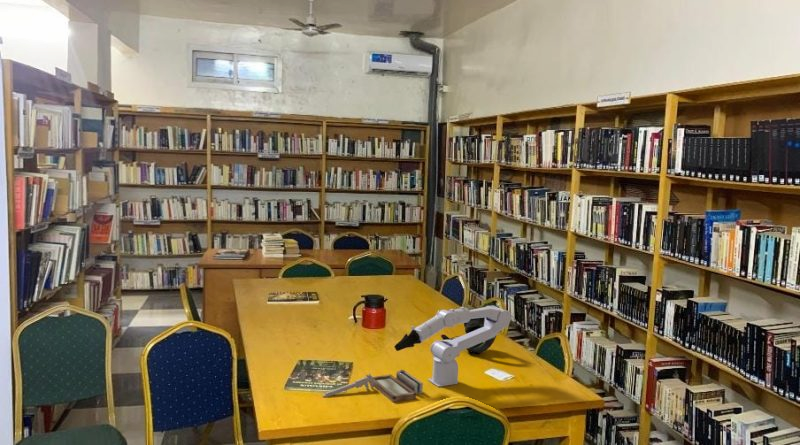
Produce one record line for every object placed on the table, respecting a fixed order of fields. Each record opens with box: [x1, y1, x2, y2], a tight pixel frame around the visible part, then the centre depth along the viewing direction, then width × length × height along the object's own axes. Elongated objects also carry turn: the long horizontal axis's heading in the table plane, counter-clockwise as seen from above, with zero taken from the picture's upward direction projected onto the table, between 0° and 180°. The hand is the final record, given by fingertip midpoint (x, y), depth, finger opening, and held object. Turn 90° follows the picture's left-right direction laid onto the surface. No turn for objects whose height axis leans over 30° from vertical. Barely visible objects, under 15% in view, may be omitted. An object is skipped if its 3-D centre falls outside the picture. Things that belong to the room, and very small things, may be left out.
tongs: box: [395, 369, 424, 396], centre depth 228 cm, size 3×14×5 cm, turn 28°
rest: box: [368, 374, 417, 403], centre depth 224 cm, size 9×20×2 cm, turn 28°
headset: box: [440, 317, 497, 354], centre depth 276 cm, size 18×14×29 cm
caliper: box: [321, 372, 374, 398], centre depth 220 cm, size 20×1×6 cm, turn 121°
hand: (398, 347), depth 223 cm, fingers open, 7 cm apart
